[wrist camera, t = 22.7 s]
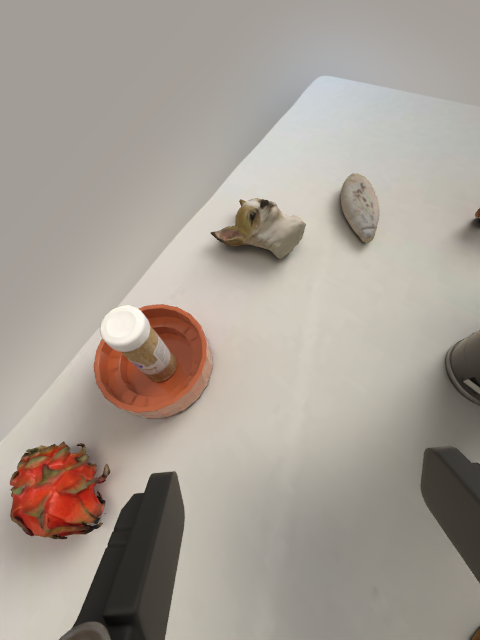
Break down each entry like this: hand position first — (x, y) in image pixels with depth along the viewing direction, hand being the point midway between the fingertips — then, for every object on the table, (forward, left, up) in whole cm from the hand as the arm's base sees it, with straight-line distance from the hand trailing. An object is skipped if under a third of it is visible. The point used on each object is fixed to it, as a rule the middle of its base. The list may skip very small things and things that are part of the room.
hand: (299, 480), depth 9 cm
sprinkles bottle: (+3, -19, -28) cm, 34 cm away
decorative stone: (-40, -21, -28) cm, 54 cm away
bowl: (+3, -20, -28) cm, 34 cm away
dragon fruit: (+19, -14, -28) cm, 37 cm away
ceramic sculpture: (-23, -28, -28) cm, 46 cm away
